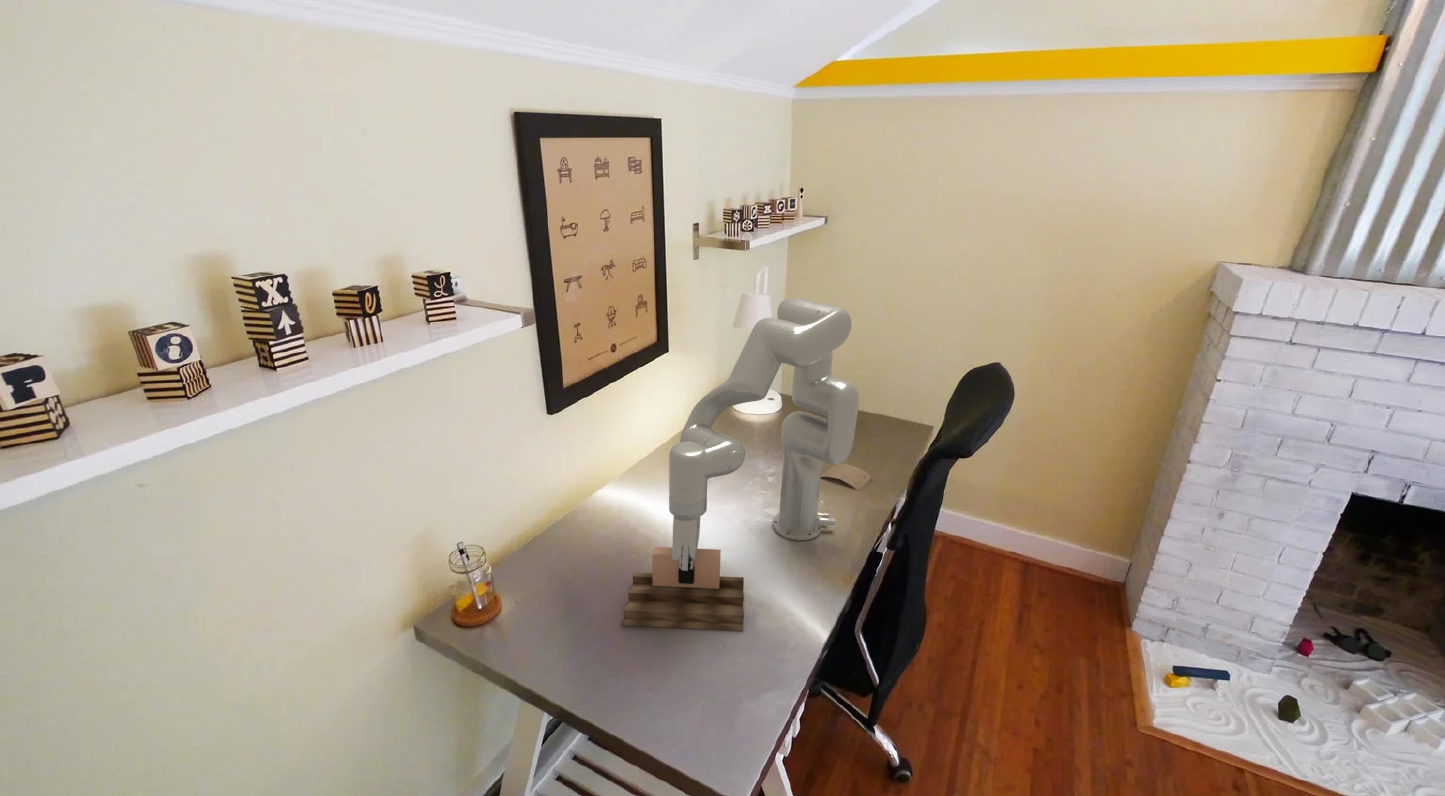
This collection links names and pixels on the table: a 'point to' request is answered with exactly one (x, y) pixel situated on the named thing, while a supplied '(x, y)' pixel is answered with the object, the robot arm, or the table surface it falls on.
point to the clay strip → (704, 566)
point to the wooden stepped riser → (685, 605)
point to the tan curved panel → (848, 475)
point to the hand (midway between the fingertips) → (686, 577)
